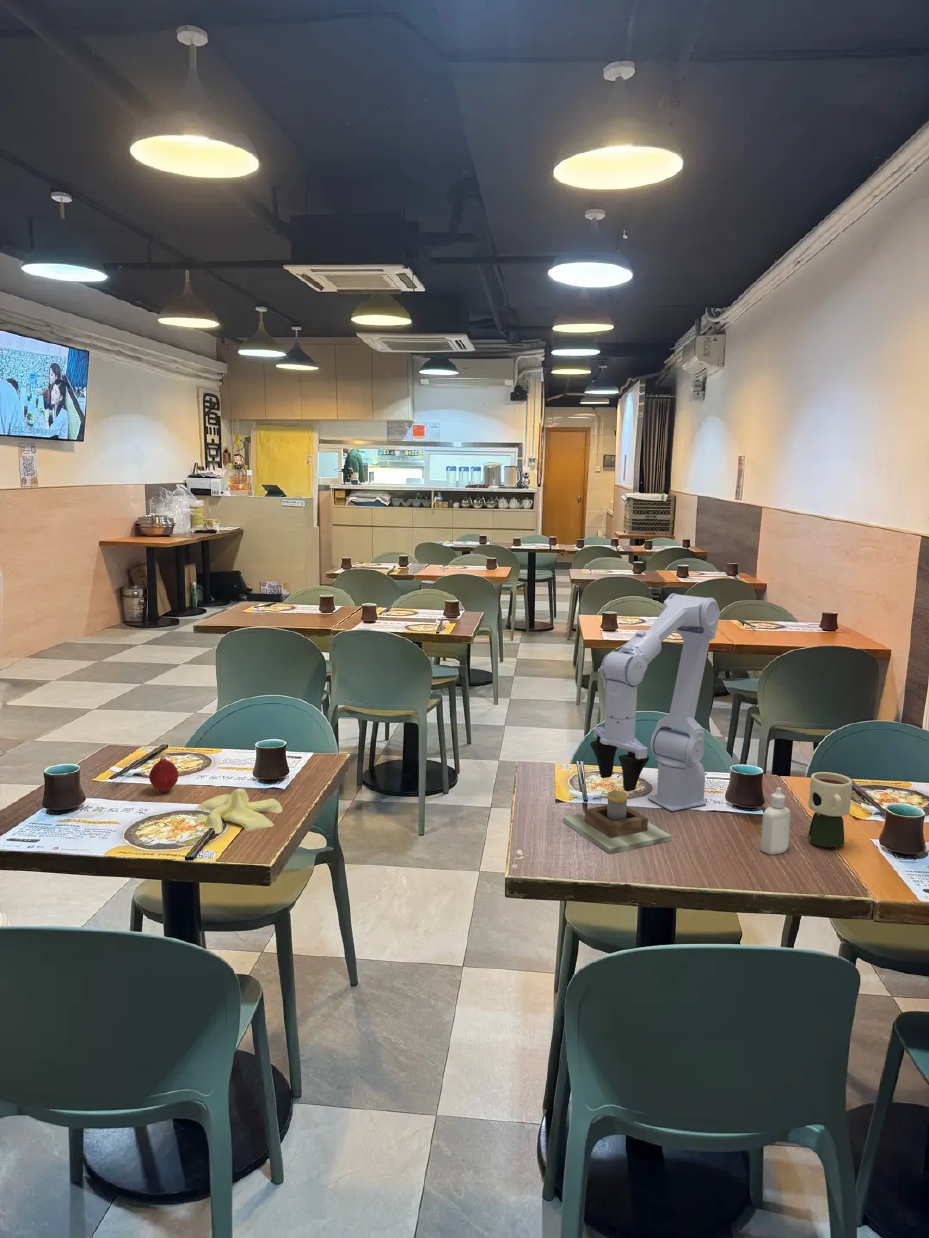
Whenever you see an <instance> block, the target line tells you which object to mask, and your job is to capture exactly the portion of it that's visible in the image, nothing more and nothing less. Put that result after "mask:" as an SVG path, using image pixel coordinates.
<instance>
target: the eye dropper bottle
mask: <svg viewBox="0 0 929 1238" xmlns="http://www.w3.org/2000/svg"><path fill="white" fill-rule="evenodd" d="M762 814H763V815H762V822H761V823H762V824H761V835H760V836H761V838H760V851H761V852H762V853H765V854H767V855H780V854H783V853H784V852H786V851H787V850H788V849H789V842H790V841H789V840H790V828H791V827H790V826H791V810H790V809H789V808H788V807H786V795H784V794H783V792H782V788H781V787H776V790H775V792H773V793H771V794H770V805H769V806H768V807H767V808H766V809H765V810H764V811H763V813H762Z"/></svg>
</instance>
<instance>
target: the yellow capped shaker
mask: <svg viewBox="0 0 929 1238" xmlns="http://www.w3.org/2000/svg"><path fill="white" fill-rule="evenodd" d="M627 802H628V793H627V792H626V791H621V790H610V791H608V792H607V805H608V808H607V818H608V819H609V820H611V821H618V820H623V819H626V807H627V806H628V805H627V804H628V803H627Z"/></svg>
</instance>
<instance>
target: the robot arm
mask: <svg viewBox="0 0 929 1238" xmlns="http://www.w3.org/2000/svg"><path fill="white" fill-rule="evenodd" d="M720 615H721V611H720V608H719V604H718V602H717V600H716V599H715V598H713V597H703V596H693V595H686V594H685V595H683V594H678V593H675V592H674V593H670V594H669V596H667V598H666V599H665V600H664V601H663V604H662V612H661V613H660V614H659V616H657V618H656V619H655V620H654V622H653V623H652V624H651V625H650V627H648V629H641V630H640V629H639V630H637V631H636V632H635V634H634V635H633V636H632V637H631V638H630V639H629V640H628V641H627V642H626V643H625V644H624V645H623V646H621V648H620V649H619V650H618V651H612V652H610V653H607V654H606V655H605V656H604V658H603V659H602V662H601V666H600V668H599V671H600V672H599V673H600V675H601V678H602V681H603V688H604V690H605V691H606V692H605V711H604V712H605V714H604V726H598V727H594V728H593V737H592V738H595V740H594V741H591V742H590V747H591V749H592V751H593V753H594V756H595V758H596V761H597V766H598V770H599V775H600V778H602V779H607V778H612V776H613V772H614V762H615V761H614V760H615V757H616V753H617V750H618V749H620V750H622V751H625V752H627V754H622V755H621V754H620V755H618V760H619V763H620V766H621V770H622V784H623V785H622V787H623V792H625V793H627V792H633V791H635V790H636V787H637V784H638V781H639V778H640V775H641V773H642V771H643V769H644V768H645V766H646V765H647V763H648V762H649V761H650V757H649V755H648V747H647V746H645V745H644V744H642V743H641V742H640V741H639V740H638V739H637V738H636V720H637V719H636V718H637V716H636V715H637V703H638V702H637V700H638V699H637V698H638V696H637V695H638V685H639V684H640V683H641V682H642V681H643V679H644V676H645V674H646V671H647V669H648V665H649V664H650V663H651V662H652V661H653V659H655V658H656V657H657V655H659V654H660V653H661V651H662V642H664V641H665V640H666V639H667V638H668V637H669V636H670V635H672V634H673V633H674V632H675V634H678V635H679V636H680V637H681V639H682V641H683V644H682V649H681V655H680V659H679V663H678V670H677V675H676V680H675V684H674V688H673V696H672V700H671V703H670V704H671V705H670V710H669V714H667V715H665V716H663V717H662V718H661V719H659V720H657V722H656V726H655V729H654V731H653V734H652V735H651V738H650V743H649V745H650V749H651V750H650V751H651V753H652V754H653V755H654V756H655V761H656V762H658V764H657V765H658V767H657V784H656V786H657V787H656V794H653V795H648V796H647V799H648V800H650V801H651V802H653V803H655V804H657V805H659V806H661V807H663V808H664V809H666V810H668V811H670V812H674V811H675V812H676V811H680V810H685V809H689V808H690V809H691V808H696V807H701V806H706V804H707V802H706V801H704V800H705V783H706V771H705V768H704V766H703V764H702V763H701V760H702V759H703V756H704V752H705V743H704V741H705V733H706V732H705V730H704V729H703V728H702V726H701V725H700V724H699V723H698V722H697V720H696V719H695V716H696V712H697V706H698V701H699V697H700V691H701V686H702V682H703V677H704V672H705V667H706V661H707V656H708V652H709V646H710V641H712V640H714V639H715V638H716V633H717V630H718V625H719V619H720ZM674 729H675V730H674ZM677 730H678V731H677ZM679 730H680V731H679ZM682 731H683V732H682Z"/></svg>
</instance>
